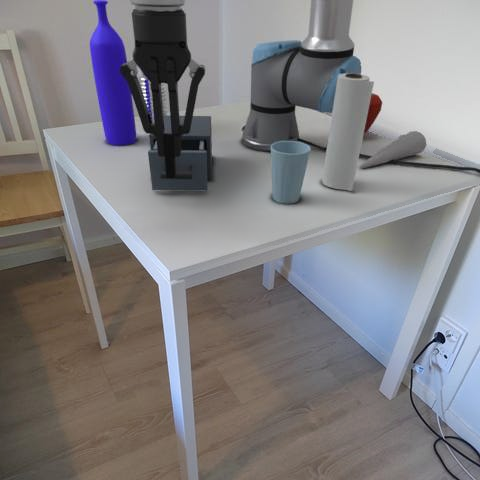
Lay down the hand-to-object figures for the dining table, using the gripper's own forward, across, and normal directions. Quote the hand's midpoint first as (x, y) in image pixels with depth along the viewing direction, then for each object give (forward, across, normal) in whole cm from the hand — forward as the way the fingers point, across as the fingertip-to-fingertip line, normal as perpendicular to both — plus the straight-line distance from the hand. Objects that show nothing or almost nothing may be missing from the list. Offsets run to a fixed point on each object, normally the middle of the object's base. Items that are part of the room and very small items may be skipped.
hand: (171, 174), depth 74 cm
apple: (+8, -47, -52) cm, 71 cm away
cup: (+9, -22, -10) cm, 26 cm away
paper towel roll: (+9, -34, -17) cm, 39 cm away
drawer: (+8, 0, -16) cm, 18 cm away
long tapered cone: (+9, -51, -31) cm, 61 cm away
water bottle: (+9, +10, -56) cm, 58 cm away
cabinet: (+9, 0, -26) cm, 28 cm away
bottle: (+9, +18, -45) cm, 49 cm away
